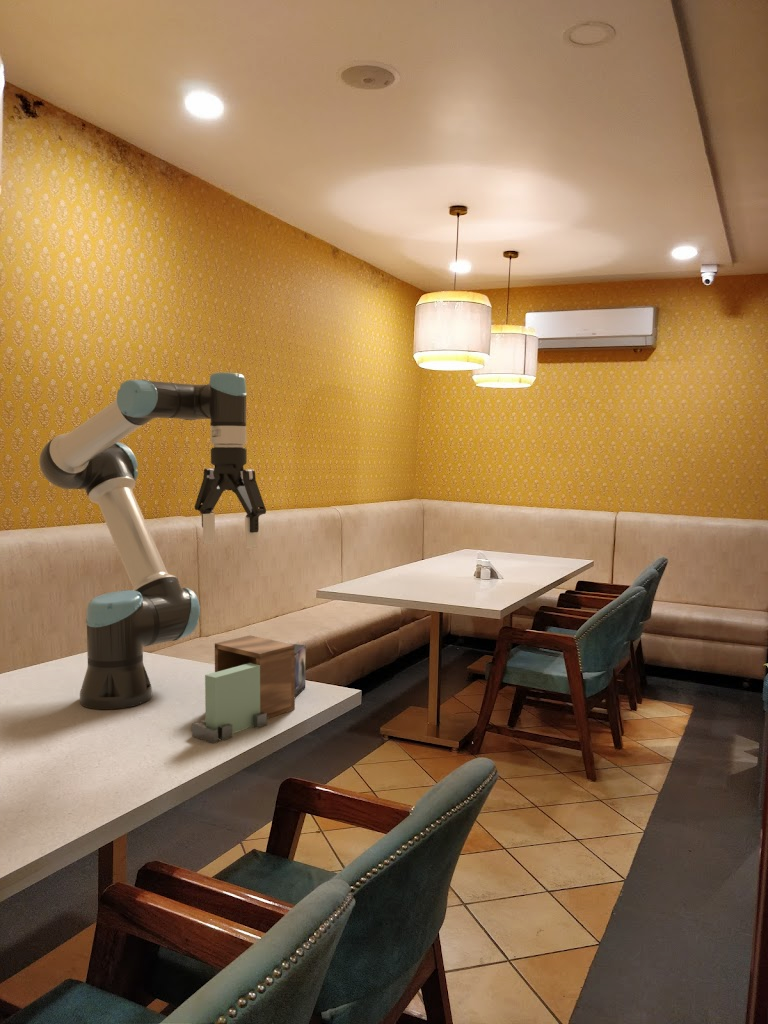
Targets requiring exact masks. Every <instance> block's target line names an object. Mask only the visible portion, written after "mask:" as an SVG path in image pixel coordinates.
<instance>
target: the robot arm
mask: <svg viewBox="0 0 768 1024" xmlns="http://www.w3.org/2000/svg"><path fill="white" fill-rule="evenodd" d="M119 386H120V387H119V389H118V390H117V393H116V399H115V400H113V402H111V403H109V404H108V405H107V406H105V407H103V408H102V409H101V410H100V411H98V412H97V413H95V414H94V415H93V416H91V417H89V418H88V419H87V420H86V421H84V422H82V423H81V424H80V425H79V426H77V427H75V428H74V429H73V430H71V431H70V432H68V433H61V434H58V435H56V436H54V437H53V438H52V439H50V440H49V441H48V442H47V443H46V444H45V445H44V447H42V450H41V452H40V455H39V459H38V461H39V468H40V471H41V473H42V475H43V476H44V478H45V479H46V480H47V481H48V482H49V483H51V484H52V485H54V486H56V487H57V488H61V489H63V490H85V494H86V495H87V497H88V500H89V501H90V502H91V503H94V504H97V505H98V507H99V509H100V511H101V514H102V517H103V519H104V522H105V523H106V526H107V528H108V530H109V534H110V535H111V538H112V541H113V543H114V545H115V548H116V550H117V553H118V555H119V558H120V559H121V562H122V566H123V567H124V569H125V572H126V573H127V576H128V579H129V581H130V583H131V585H132V590H131V589H130V590H129V589H128V590H127V589H126V590H125V589H124V590H119V591H111V592H107V593H103V594H100V595H98V596H95V597H94V598H92V599H91V600H90V601H89V602H88V604H87V606H86V618H85V624H86V649H87V650H86V651H87V668H86V672H85V675H84V677H83V678H84V679H83V680H82V684H81V688H80V691H79V703H80V705H81V706H83V707H85V708H88V709H96V710H118V709H125V708H130V707H135V706H139V705H141V704H144V703H146V702H148V701H150V700H151V698H152V697H153V694H152V693H153V691H152V690H153V689H152V684H151V682H150V681H151V680H150V678H149V676H148V673H147V670H146V667H145V665H144V647H149V646H154V645H158V644H163V643H167V642H175V641H178V640H180V639H183V638H186V637H188V636H190V635H191V634H193V632H194V631H195V630H196V628H197V627H198V624H199V619H200V615H201V606H200V601H199V597H198V596H197V595H196V592H194V591H193V590H192V589H190V588H188V587H182V585H181V584H180V581H179V580H178V577H177V576H175V575H173V574H171V573H169V572H168V570H167V568H166V566H165V563H164V562H163V559H162V556H161V554H160V552H159V550H158V547H157V545H156V542H155V540H154V538H153V535H152V534H151V532H150V528H149V527H148V525H147V521H146V519H145V518H144V516H143V513H142V511H141V508H140V506H139V503H138V501H137V499H136V497H135V494H134V489H135V487H136V480H137V478H138V475H139V470H138V469H137V468H138V467H139V465H138V461H137V457H136V455H135V454H134V452H133V451H132V449H131V448H130V447H129V446H127V445H126V444H125V443H122V442H121V441H122V440H123V439H125V438H126V437H127V436H129V435H130V434H132V433H134V432H135V431H136V430H138V429H140V428H141V427H142V426H144V425H146V424H147V423H149V422H150V421H152V420H154V419H157V418H158V419H179V420H183V421H195V420H208V419H209V420H210V425H209V426H210V444H211V445H213V447H211V449H210V463H211V465H213V466H214V468H204V469H203V477H202V481H201V482H202V483H200V485H201V486H200V487H199V488H200V489H199V491H198V495H197V499H196V501H195V503H194V504H195V505H194V510H195V511H198V512H199V513H200V514H201V527H202V544H204V545H206V544H207V545H208V544H215V543H216V522H215V521H216V519H215V518H216V514H215V511H214V509H215V507H216V505H217V503H218V502H219V499H220V498H221V497H222V494H223V493H224V492H226V491H232V492H233V493H234V494H235V495H236V497H237V498H238V501H239V502H240V504H241V506H242V508H243V509H244V511H245V513H246V516H245V517H244V547H245V548H244V549H246V550H247V549H255V548H258V533H259V527H260V526H259V517H260V516H263V515H265V514H266V513H267V509H266V506H265V504H264V501H263V498H262V494H261V492H260V488H259V486H258V482H257V480H256V472H255V469H244V466H245V465H246V464H247V462H248V461H247V459H248V458H247V457H248V456H247V455H248V454H247V449H246V447H244V446H245V445H247V441H248V440H247V438H248V437H247V436H248V435H247V395H248V393H247V385H246V377H245V376H244V375H243V374H241V373H236V372H215V373H212V374H210V377H209V383H208V384H207V383H206V384H190V383H189V384H188V383H187V384H186V383H179V382H165V381H154V380H147V379H143V378H142V379H127V380H125V381H124V382H122V383H121V384H120V385H119Z"/></svg>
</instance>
